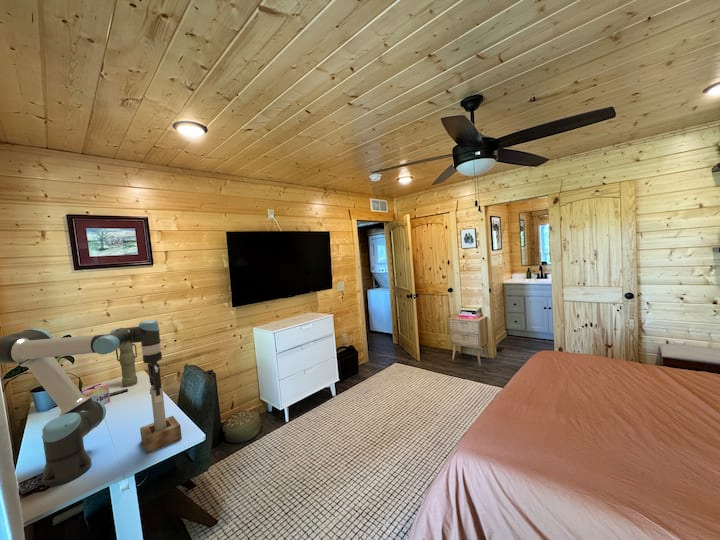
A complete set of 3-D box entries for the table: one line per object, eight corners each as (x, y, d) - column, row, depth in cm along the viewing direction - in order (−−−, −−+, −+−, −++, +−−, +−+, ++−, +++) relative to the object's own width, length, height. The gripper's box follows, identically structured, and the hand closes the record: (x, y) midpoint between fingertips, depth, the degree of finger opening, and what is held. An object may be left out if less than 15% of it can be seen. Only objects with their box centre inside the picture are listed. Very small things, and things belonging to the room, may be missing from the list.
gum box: (102, 401, 199) (100, 382, 198) (112, 401, 197) (110, 382, 197) (65, 420, 176) (62, 399, 176) (76, 420, 175) (73, 399, 175)
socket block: (147, 453, 138) (145, 438, 138) (141, 441, 148) (140, 427, 148) (181, 438, 148) (180, 425, 147) (174, 428, 158) (172, 415, 157)
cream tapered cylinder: (161, 439, 144) (154, 377, 143) (150, 438, 146) (143, 377, 144) (170, 432, 150) (164, 372, 149) (160, 431, 151) (153, 372, 150)
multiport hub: (107, 397, 206) (107, 393, 206) (128, 391, 213) (127, 388, 213) (107, 399, 203) (107, 395, 203) (128, 393, 210) (127, 390, 210)
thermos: (119, 387, 221) (113, 340, 220) (139, 381, 229) (134, 336, 228) (120, 390, 215) (115, 342, 213) (141, 384, 223) (135, 338, 221)
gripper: (165, 354, 142) (170, 402, 143) (157, 347, 155) (161, 392, 156) (146, 358, 137) (151, 409, 138) (139, 351, 150) (144, 397, 151)
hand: (157, 399), depth 147 cm, fingers closed on cream tapered cylinder, 5 cm apart
